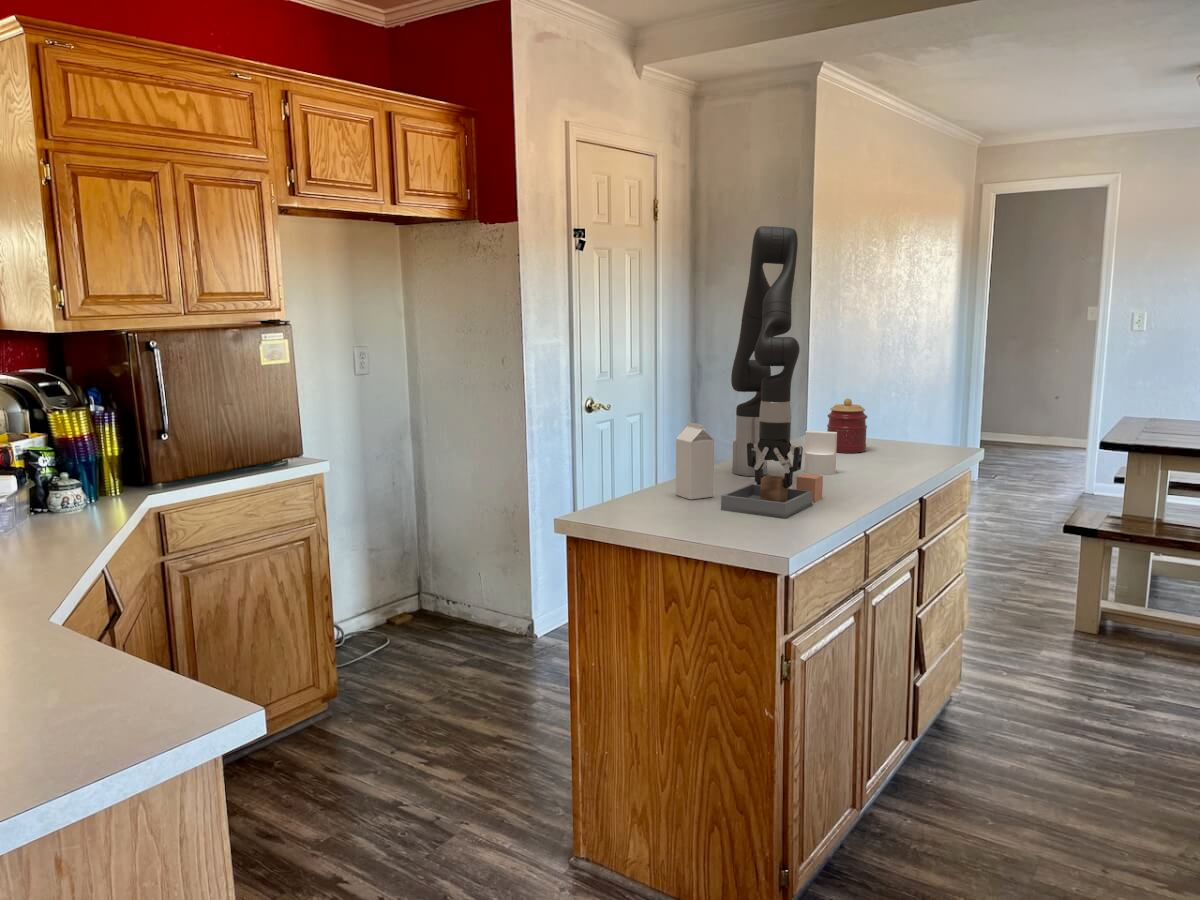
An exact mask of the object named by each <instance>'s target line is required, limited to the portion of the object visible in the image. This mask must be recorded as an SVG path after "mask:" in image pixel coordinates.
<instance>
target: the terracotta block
mask: <svg viewBox="0 0 1200 900" xmlns="http://www.w3.org/2000/svg"><path fill="white" fill-rule="evenodd" d="M823 481H824V475H813V474H807V473H802V474H801V475H797V476H796V487H795V489H798V490H807V491H813V498H812V503H816V502H818V501H820V500H822V499H823V485H824V484H823Z"/></svg>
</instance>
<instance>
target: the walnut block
mask: <svg viewBox="0 0 1200 900" xmlns="http://www.w3.org/2000/svg"><path fill="white" fill-rule="evenodd" d="M787 497H788V488H784V476H782V475H781V476H780V475H773V474H769V475H768V474H767V475H766V476H763V478H761V491H760V500H767V501H774V502H782V503H784V502H786V501H787Z"/></svg>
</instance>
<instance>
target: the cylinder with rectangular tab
mask: <svg viewBox="0 0 1200 900" xmlns="http://www.w3.org/2000/svg"><path fill="white" fill-rule="evenodd" d="M804 436H805V437H804V438H805V439H804V440H805V441H804V468H803V469H804V471H803V472H804V474H813V475H822V476H832V474H833V475H835V474H837V473H836V472H837V452H836V447H837V432H827V431H819V430H818V431H817V430H806V431H805V435H804Z"/></svg>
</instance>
